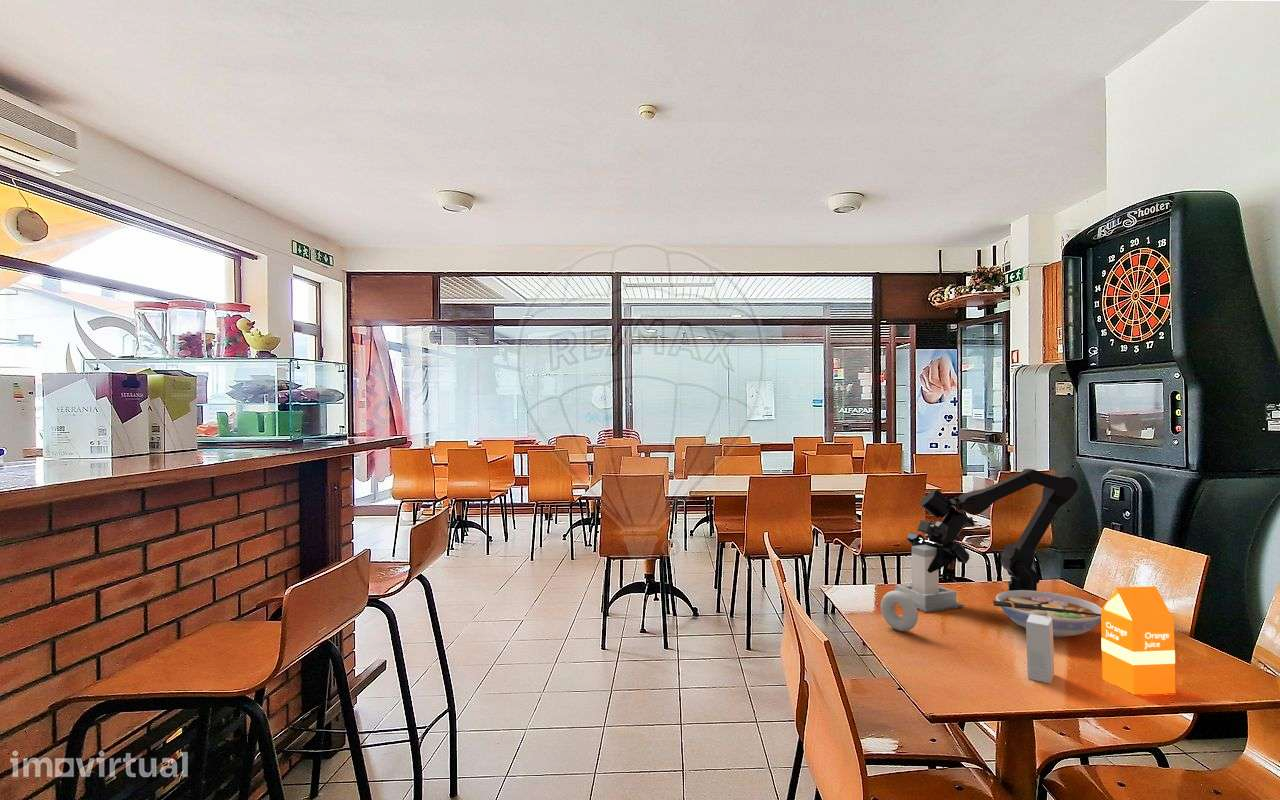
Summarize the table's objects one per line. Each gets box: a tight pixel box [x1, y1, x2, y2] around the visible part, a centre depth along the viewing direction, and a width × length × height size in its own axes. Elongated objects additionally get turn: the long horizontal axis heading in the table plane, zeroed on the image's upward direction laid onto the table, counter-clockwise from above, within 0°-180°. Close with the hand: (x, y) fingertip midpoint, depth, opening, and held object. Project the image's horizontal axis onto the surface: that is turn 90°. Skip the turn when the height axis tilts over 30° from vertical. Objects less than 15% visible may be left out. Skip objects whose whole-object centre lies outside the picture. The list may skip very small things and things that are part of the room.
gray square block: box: [911, 545, 940, 594], centre depth 178 cm, size 5×5×13 cm
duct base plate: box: [916, 601, 965, 613], centre depth 178 cm, size 14×14×1 cm
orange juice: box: [1100, 585, 1176, 695], centre depth 124 cm, size 8×9×20 cm
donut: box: [880, 590, 919, 632], centre depth 156 cm, size 10×3×10 cm, turn 32°
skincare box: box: [1025, 614, 1055, 685], centre depth 129 cm, size 6×4×12 cm
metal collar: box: [894, 582, 957, 609], centre depth 178 cm, size 11×11×4 cm
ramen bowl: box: [992, 590, 1103, 639], centre depth 153 cm, size 25×23×8 cm
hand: (921, 569), depth 177 cm, fingers closed on gray square block, 5 cm apart
